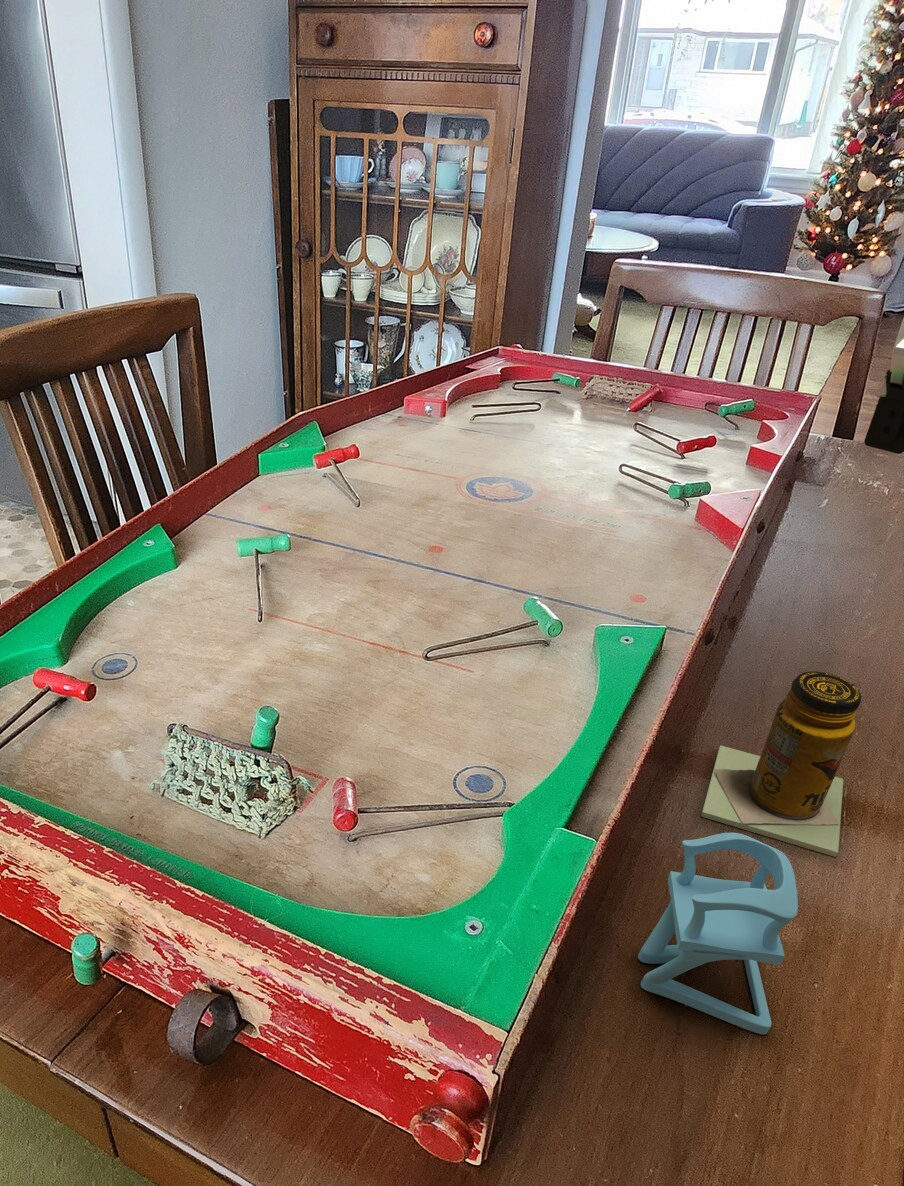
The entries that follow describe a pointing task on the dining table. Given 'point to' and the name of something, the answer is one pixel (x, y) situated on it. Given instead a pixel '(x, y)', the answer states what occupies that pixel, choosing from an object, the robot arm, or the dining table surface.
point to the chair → (722, 927)
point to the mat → (800, 835)
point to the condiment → (798, 755)
